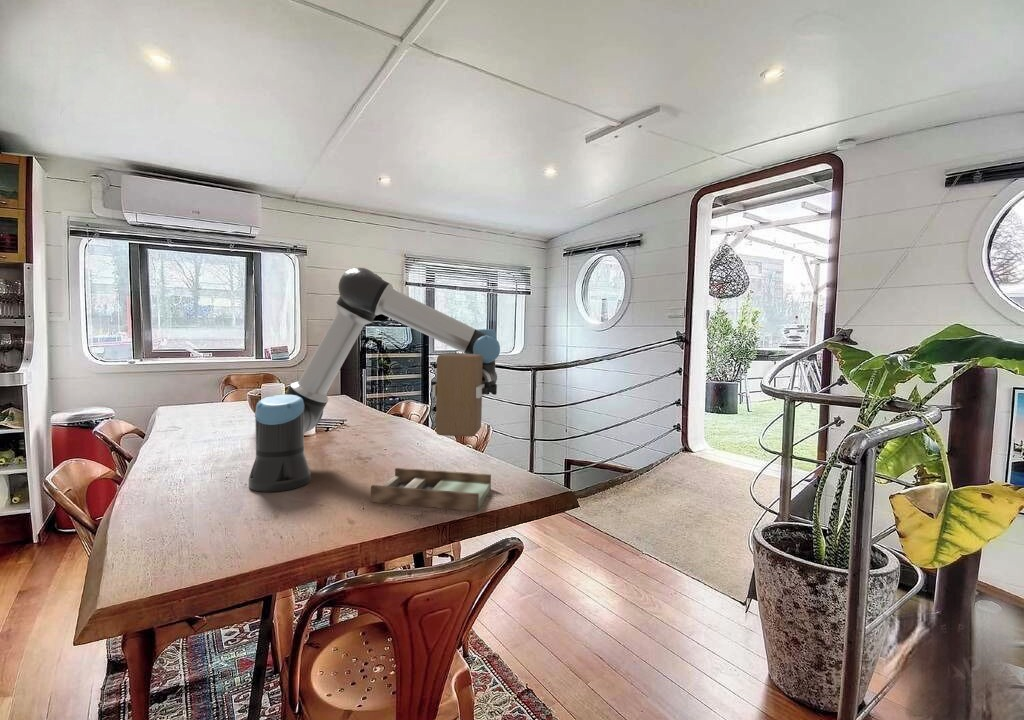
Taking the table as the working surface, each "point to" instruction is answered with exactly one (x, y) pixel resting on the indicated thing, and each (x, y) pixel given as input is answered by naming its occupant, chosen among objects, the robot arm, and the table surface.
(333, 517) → the table surface
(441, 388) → the block
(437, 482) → the box
